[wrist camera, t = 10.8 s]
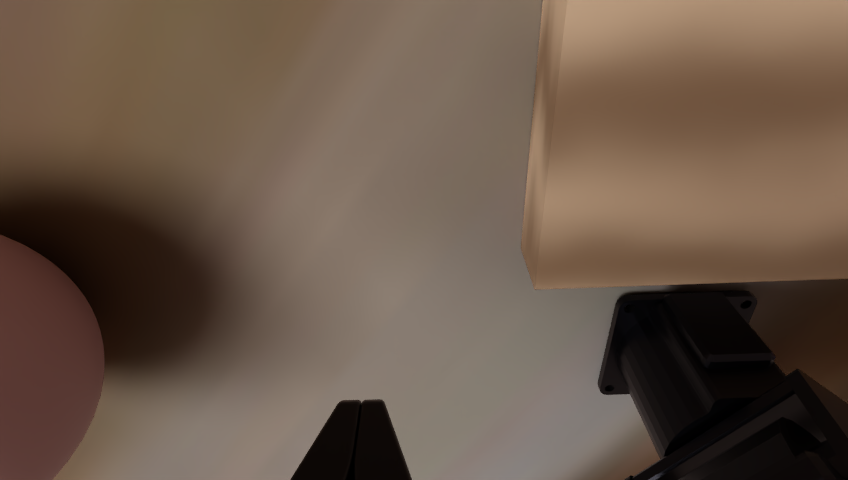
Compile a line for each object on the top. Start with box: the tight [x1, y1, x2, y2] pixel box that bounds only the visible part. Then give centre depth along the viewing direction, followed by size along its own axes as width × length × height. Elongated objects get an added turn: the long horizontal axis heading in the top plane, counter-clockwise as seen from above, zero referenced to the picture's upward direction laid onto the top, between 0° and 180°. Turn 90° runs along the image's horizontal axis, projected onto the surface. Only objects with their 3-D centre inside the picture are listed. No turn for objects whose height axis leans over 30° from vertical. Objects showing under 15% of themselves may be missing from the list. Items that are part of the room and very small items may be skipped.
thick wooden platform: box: [521, 0, 848, 290], centre depth 17 cm, size 14×16×3 cm
